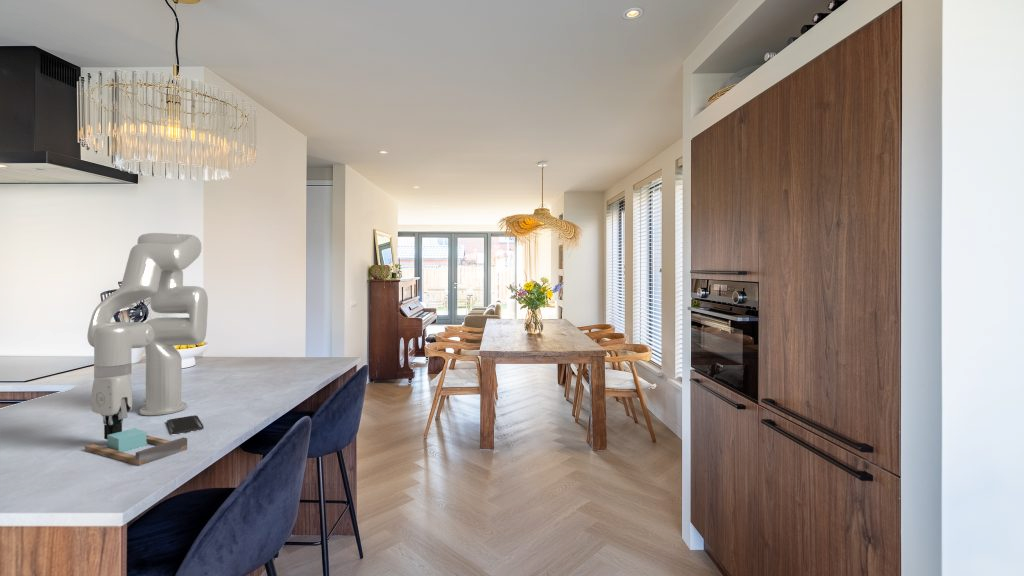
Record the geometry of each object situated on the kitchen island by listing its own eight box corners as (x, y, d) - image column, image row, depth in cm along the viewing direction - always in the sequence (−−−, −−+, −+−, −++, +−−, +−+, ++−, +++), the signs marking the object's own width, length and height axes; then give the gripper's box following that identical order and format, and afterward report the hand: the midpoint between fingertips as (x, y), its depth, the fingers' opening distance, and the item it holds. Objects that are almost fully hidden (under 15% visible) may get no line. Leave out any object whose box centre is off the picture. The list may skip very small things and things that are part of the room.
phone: (196, 414, 142) (204, 427, 131) (196, 418, 142) (204, 430, 131) (166, 419, 137) (171, 432, 126) (166, 423, 137) (171, 436, 126)
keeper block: (107, 450, 115) (107, 435, 115) (135, 442, 121) (135, 428, 121) (118, 454, 113) (118, 439, 113) (146, 446, 118) (146, 431, 118)
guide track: (84, 450, 114) (84, 439, 114) (133, 436, 124) (133, 426, 124) (139, 465, 106) (139, 453, 106) (187, 449, 116) (187, 438, 116)
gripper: (79, 371, 118) (79, 438, 118) (112, 376, 112) (112, 447, 113) (113, 366, 125) (113, 429, 125) (146, 371, 119) (145, 437, 119)
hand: (113, 437), depth 119 cm, fingers closed
